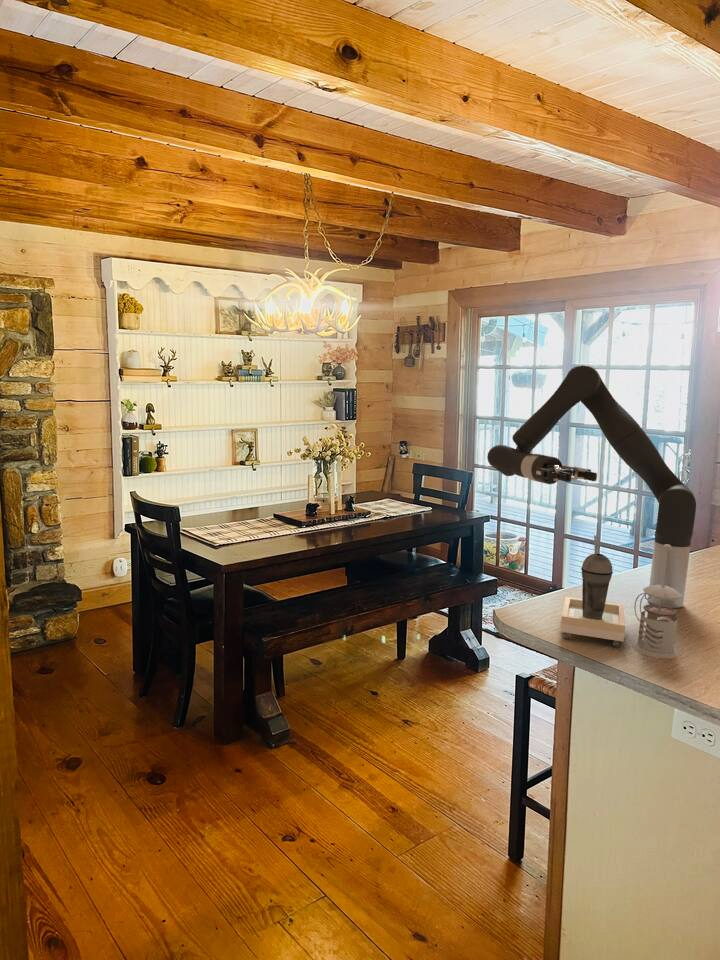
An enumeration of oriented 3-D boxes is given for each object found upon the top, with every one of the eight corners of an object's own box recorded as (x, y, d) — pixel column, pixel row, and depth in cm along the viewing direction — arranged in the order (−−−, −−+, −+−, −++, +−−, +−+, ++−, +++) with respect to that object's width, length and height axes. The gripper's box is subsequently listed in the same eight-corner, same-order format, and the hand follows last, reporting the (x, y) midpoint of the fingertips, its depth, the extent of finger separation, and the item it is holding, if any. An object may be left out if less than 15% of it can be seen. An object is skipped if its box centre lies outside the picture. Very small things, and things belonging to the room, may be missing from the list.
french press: (655, 660, 157) (668, 551, 153) (617, 641, 167) (628, 538, 163) (688, 655, 161) (701, 548, 157) (649, 637, 171) (660, 536, 167)
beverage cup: (610, 623, 167) (618, 540, 164) (578, 619, 168) (586, 537, 165) (605, 613, 174) (614, 534, 171) (575, 610, 175) (582, 531, 172)
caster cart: (563, 618, 181) (565, 596, 180) (621, 627, 177) (623, 605, 176) (559, 639, 166) (561, 616, 165) (622, 649, 162) (625, 625, 161)
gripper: (521, 455, 191) (563, 463, 177) (562, 454, 198) (605, 462, 183) (519, 482, 193) (560, 492, 178) (560, 481, 199) (602, 491, 184)
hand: (583, 477), depth 181 cm, fingers open, 8 cm apart
